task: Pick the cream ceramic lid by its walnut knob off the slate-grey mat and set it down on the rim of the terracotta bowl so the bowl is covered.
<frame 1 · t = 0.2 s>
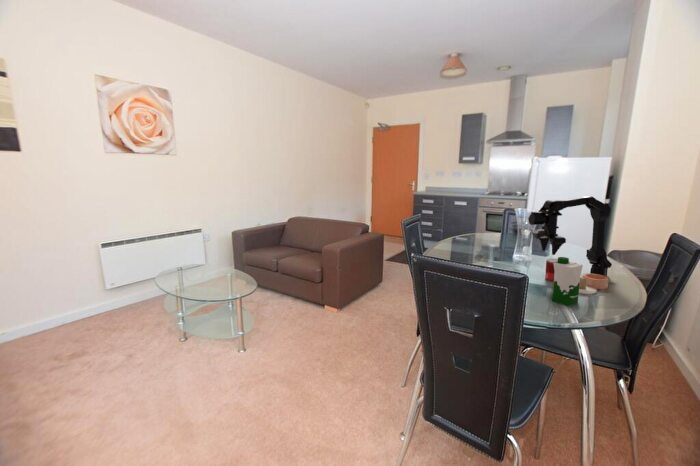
hand: (548, 252, 165), 14 cm above the table, fingers open, 9 cm apart
milk carton: (564, 302, 137), on the table
bowl: (594, 286, 154), on the table
canned food: (553, 280, 165), on the table
mat: (581, 291, 149), on the table
lid: (581, 290, 149), resting on mat
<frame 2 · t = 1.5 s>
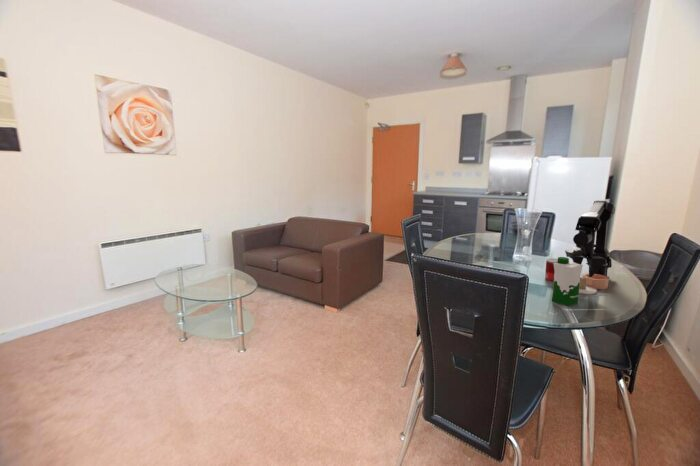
hand: (583, 273, 147), 9 cm above the table, fingers open, 9 cm apart
nothing on the table moved.
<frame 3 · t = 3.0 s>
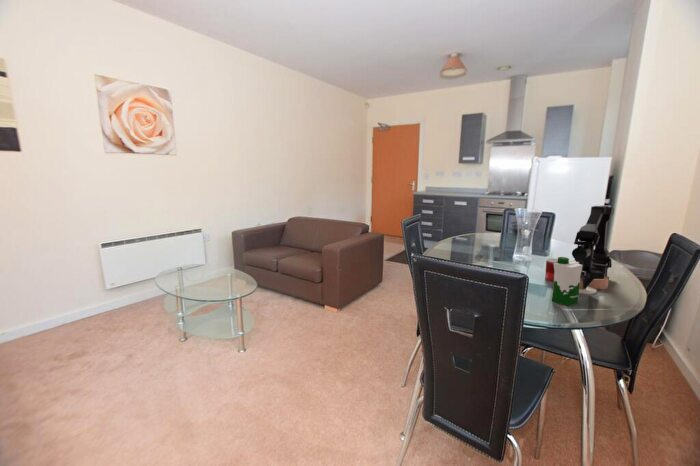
hand: (582, 287, 148), 2 cm above the table, fingers closed on lid, 3 cm apart
lid: (581, 290, 149), resting on mat, touching gripper
everything else where it was.
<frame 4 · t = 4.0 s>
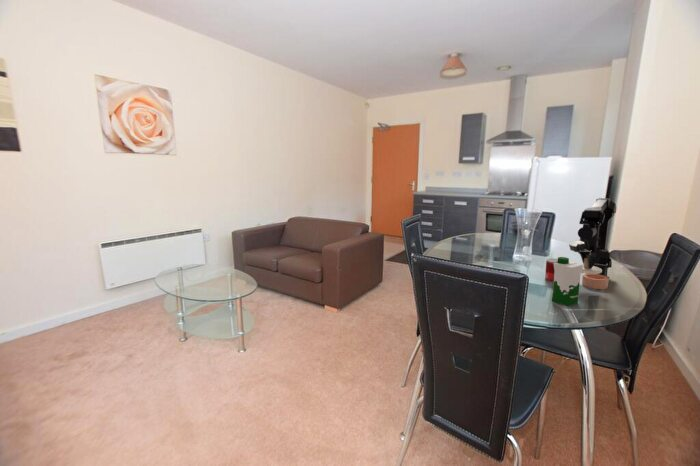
hand: (587, 267, 148), 11 cm above the table, fingers closed on lid, 3 cm apart
lid: (587, 270, 149), point 10 cm above the table, touching gripper
everything else where it was.
when the fingers open (8 cm above the table, at t = 5.3 s): lid drops 2 cm, resting on bowl.
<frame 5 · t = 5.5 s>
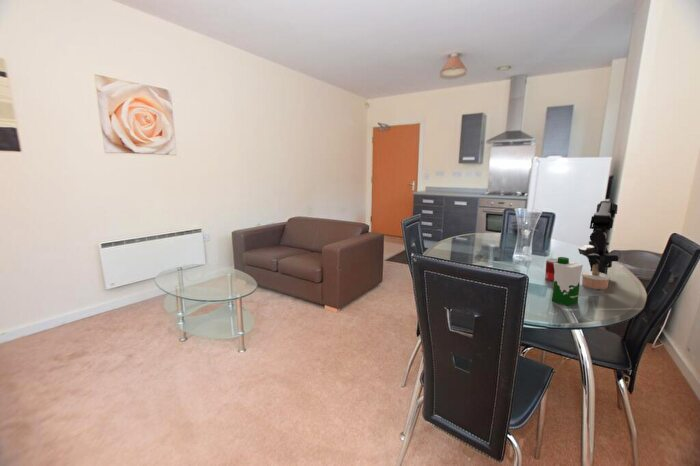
hand: (596, 270, 153), 8 cm above the table, fingers open, 5 cm apart
lid: (595, 276, 153), point 5 cm above the table, touching bowl
everything else where it was.
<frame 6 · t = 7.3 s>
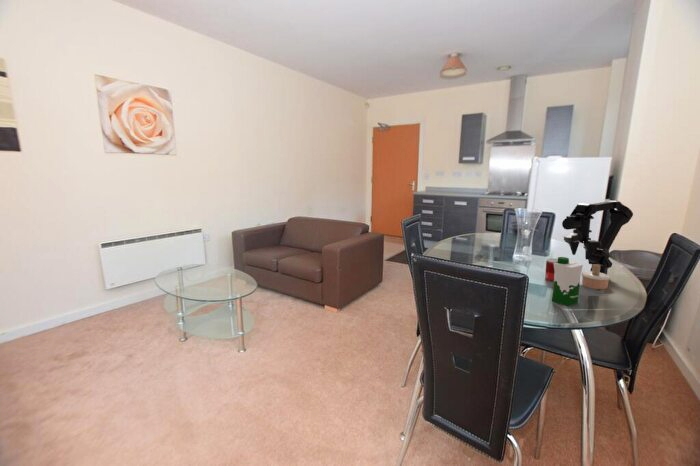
hand: (580, 257, 162), 12 cm above the table, fingers open, 9 cm apart
nothing on the table moved.
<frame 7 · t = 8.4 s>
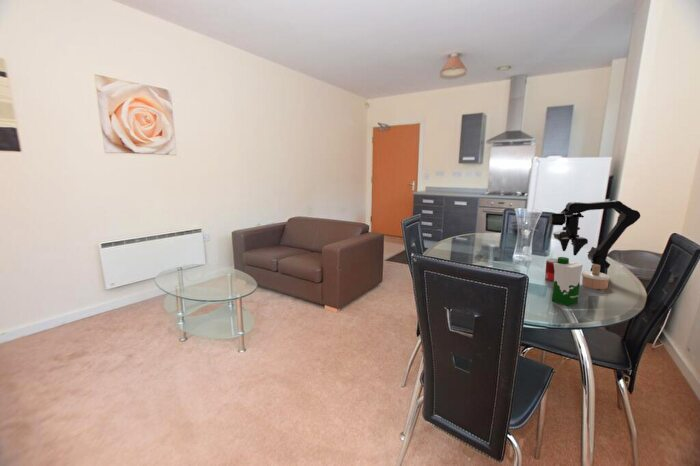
hand: (569, 253, 170), 12 cm above the table, fingers open, 9 cm apart
nothing on the table moved.
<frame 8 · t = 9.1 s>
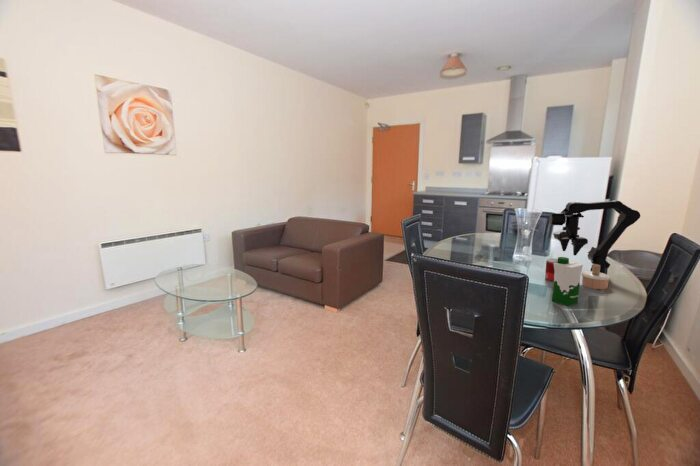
hand: (569, 253, 170), 12 cm above the table, fingers open, 9 cm apart
nothing on the table moved.
at the end: lid 0.0 cm off-centre on the bowl, point 5.0 cm above the bowl's base; lid tilted 0°; the gripper is holding nothing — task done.
